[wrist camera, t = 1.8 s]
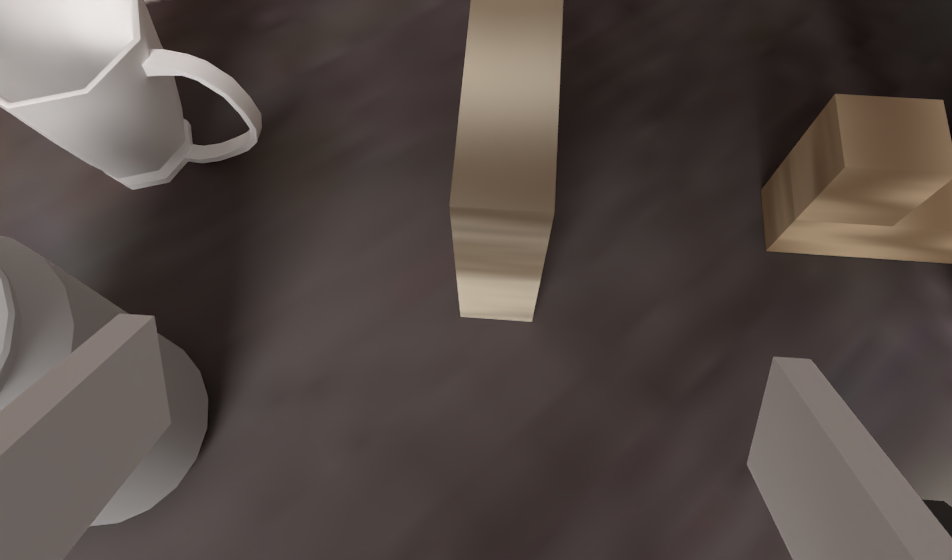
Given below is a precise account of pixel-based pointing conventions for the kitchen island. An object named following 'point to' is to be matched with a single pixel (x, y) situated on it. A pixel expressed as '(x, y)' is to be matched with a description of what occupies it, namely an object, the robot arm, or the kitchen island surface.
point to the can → (60, 333)
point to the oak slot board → (866, 183)
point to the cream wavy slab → (506, 156)
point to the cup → (109, 87)
